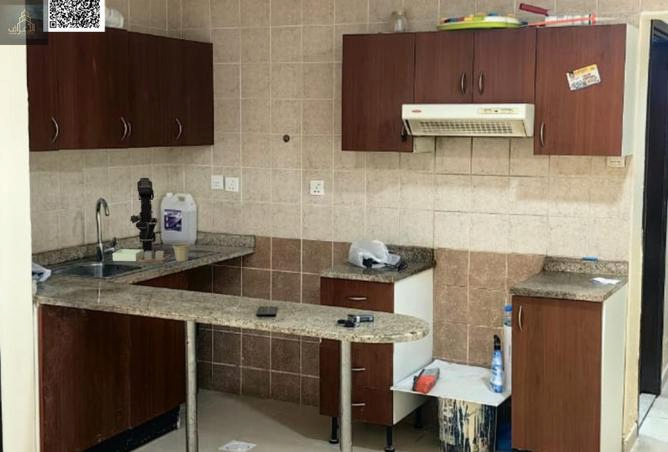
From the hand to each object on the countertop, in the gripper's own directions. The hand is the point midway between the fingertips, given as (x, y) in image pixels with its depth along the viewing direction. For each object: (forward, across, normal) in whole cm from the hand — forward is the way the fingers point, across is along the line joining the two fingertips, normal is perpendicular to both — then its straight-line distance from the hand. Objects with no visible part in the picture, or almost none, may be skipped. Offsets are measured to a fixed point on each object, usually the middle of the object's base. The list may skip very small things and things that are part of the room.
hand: (147, 238), depth 538 cm
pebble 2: (+11, 0, +7) cm, 13 cm away
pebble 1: (+11, 0, +1) cm, 11 cm away
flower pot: (+12, +2, +20) cm, 23 cm away
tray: (+12, 0, +4) cm, 12 cm away
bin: (+12, +1, -11) cm, 16 cm away
